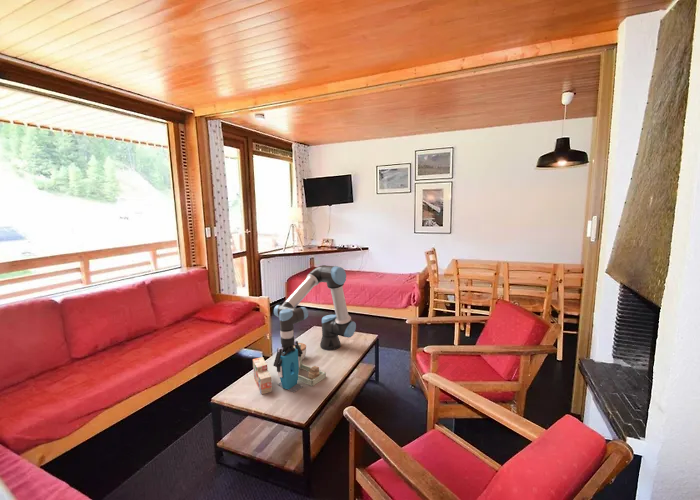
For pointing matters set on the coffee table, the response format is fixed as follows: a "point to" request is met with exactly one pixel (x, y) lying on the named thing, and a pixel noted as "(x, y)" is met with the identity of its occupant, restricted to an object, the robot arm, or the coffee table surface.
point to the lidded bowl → (303, 348)
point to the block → (289, 369)
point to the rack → (307, 368)
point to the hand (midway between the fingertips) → (289, 371)
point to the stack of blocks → (262, 375)
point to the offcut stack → (313, 372)
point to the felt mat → (294, 388)
